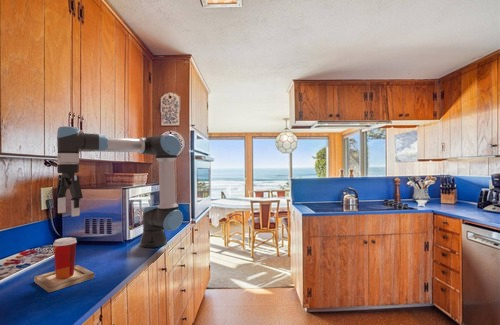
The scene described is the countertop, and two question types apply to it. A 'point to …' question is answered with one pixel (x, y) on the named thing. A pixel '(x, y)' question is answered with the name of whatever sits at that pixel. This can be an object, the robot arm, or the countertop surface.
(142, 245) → the robot arm
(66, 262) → the coffee cup
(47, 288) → the square tray
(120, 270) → the countertop surface
